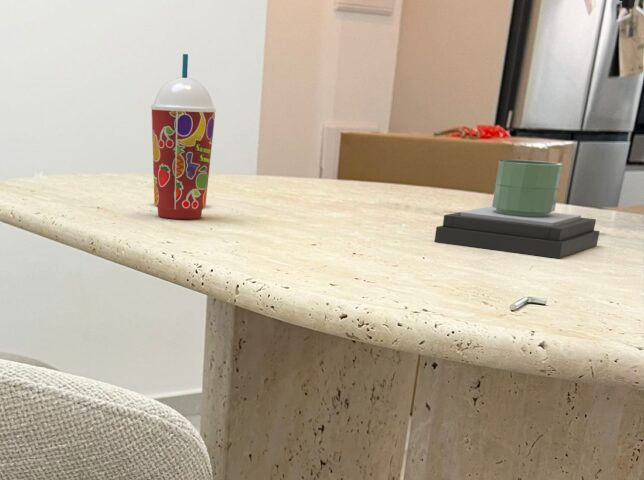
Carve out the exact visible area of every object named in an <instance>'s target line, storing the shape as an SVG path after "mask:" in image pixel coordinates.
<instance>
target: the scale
mask: <svg viewBox="0 0 644 480" xmlns="http://www.w3.org/2000/svg"><path fill="white" fill-rule="evenodd" d="M481 208H482V207H481ZM481 208H479V209H481ZM470 210H471V209H470ZM470 210H468V211H470ZM461 212H462V211H460V212H454V213H447V214H444V215H443V220H442V221H443V222H442V225H438V226H435V227H436V228H435V235H434V243H439V244H440V243H442V244H448V245H454V246H455V245H456V246H463V247H470V248H478V249H485V250H492V251H500V252H507V253H515V254H522V255H529V256H538V257H544V258H550V259H551V258H552V259H558V260H559V259H562V258H565V257H567V256H571V255H573V254H576V253H579V252H580V253H581V252H582V251H585V250H588V249H590V248H594V247H597V246H598V241H599V236H600V230H595V226H596V222H597V219H596V218H588V217H587V218H586V217H581V219H580V220H578V221H574V222H570V223H566V224H563V225H559V226H555V227H552V226H544V225H535V224H527V223H518V222H510V221H501V220H492V219H484V218H475V217H467V216H460V215H461Z"/></svg>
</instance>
